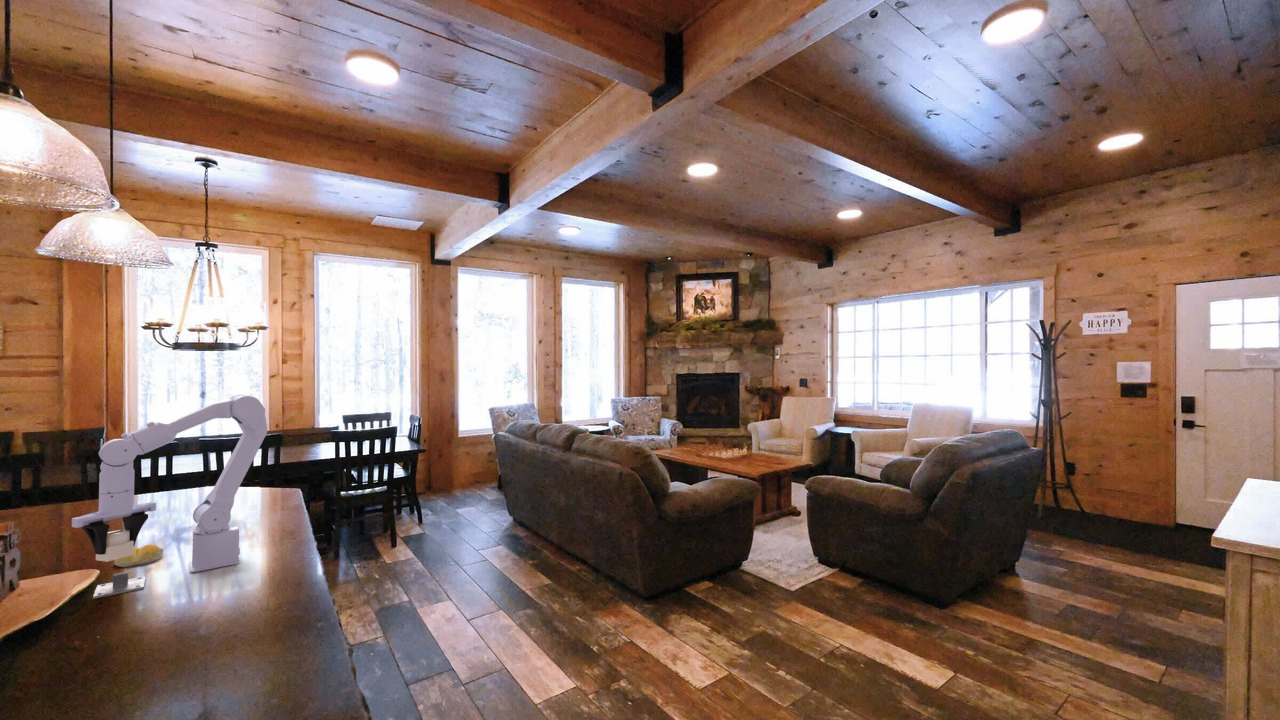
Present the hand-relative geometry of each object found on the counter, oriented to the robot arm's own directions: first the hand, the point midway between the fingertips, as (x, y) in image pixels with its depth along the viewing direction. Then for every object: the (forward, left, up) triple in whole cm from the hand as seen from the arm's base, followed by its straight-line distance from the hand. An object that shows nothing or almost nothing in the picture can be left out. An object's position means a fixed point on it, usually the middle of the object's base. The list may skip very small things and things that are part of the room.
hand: (115, 549), depth 118 cm
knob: (0, 0, -2) cm, 2 cm away
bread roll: (-3, -18, -9) cm, 20 cm away
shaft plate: (-1, +3, -8) cm, 9 cm away
